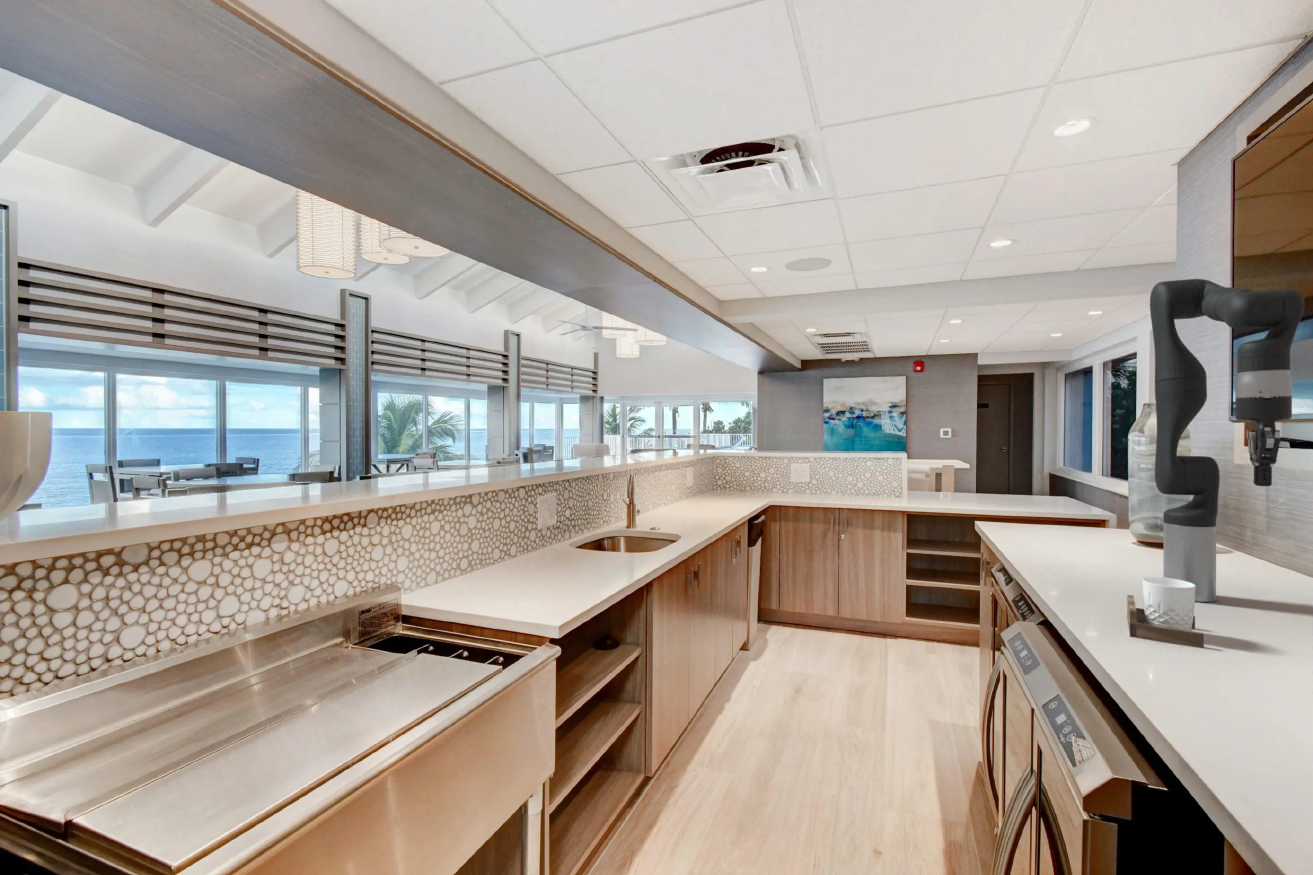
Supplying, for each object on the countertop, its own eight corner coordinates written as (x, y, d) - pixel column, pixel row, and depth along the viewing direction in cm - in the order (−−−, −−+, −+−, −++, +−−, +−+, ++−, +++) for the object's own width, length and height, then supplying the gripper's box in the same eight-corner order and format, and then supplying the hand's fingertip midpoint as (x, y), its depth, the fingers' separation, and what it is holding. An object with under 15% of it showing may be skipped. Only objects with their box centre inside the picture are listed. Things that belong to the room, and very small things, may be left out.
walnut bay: (1127, 618, 124) (1127, 594, 124) (1194, 627, 117) (1194, 603, 117) (1129, 636, 113) (1129, 610, 113) (1203, 647, 107) (1203, 620, 107)
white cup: (1203, 642, 110) (1204, 589, 110) (1152, 637, 113) (1152, 585, 113) (1183, 628, 117) (1183, 578, 117) (1135, 624, 120) (1135, 575, 120)
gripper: (1229, 397, 120) (1229, 482, 120) (1242, 395, 109) (1242, 488, 109) (1282, 395, 115) (1282, 483, 115) (1301, 393, 104) (1300, 490, 105)
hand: (1262, 485), depth 112 cm, fingers closed
